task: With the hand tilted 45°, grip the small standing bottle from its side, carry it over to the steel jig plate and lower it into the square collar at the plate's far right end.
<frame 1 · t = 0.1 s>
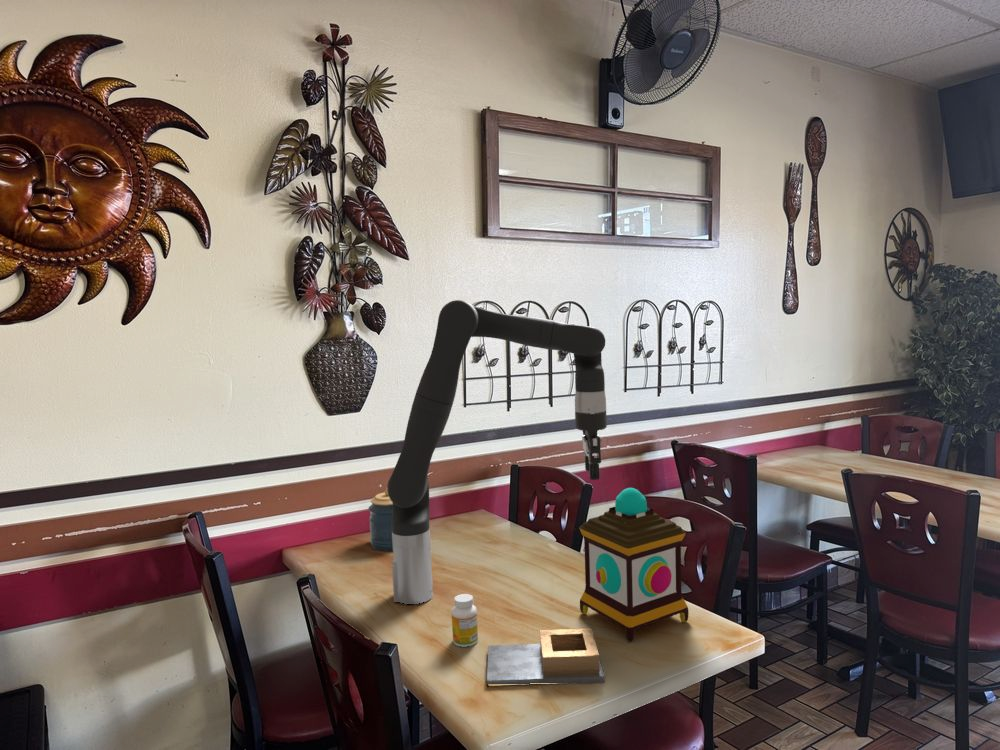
hand: (592, 474, 162), 29 cm above the table, tool pointing down, fingers open, 8 cm apart
decorative lantern: (633, 618, 150), on the table
jig: (543, 666, 131), on the table
canister: (392, 544, 204), on the table
supplement bottle: (465, 642, 142), on the table
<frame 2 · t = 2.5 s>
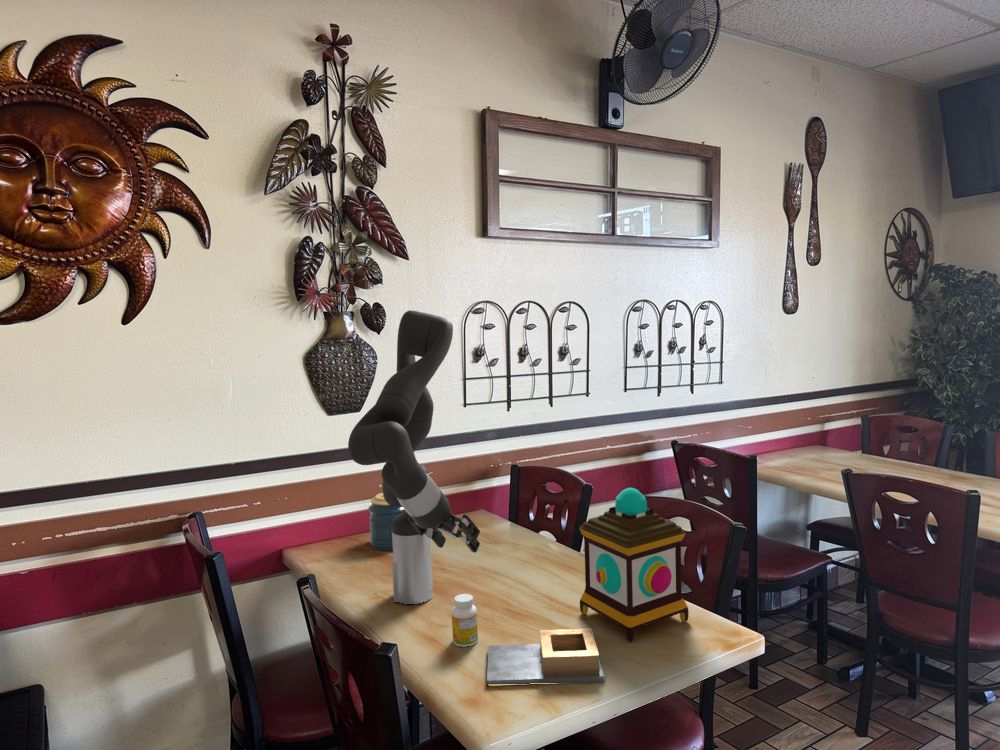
hand: (459, 546, 136), 22 cm above the table, tool tilted 40°, fingers open, 8 cm apart
nothing on the table moved.
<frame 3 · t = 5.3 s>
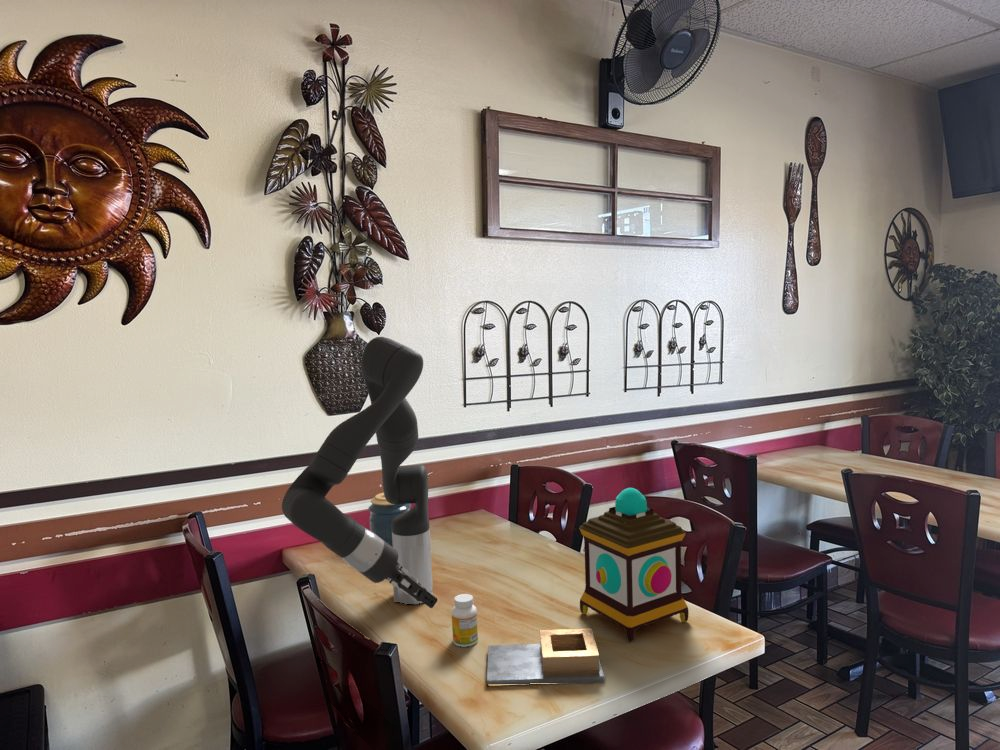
hand: (425, 596, 137), 12 cm above the table, tool tilted 45°, fingers open, 8 cm apart
nothing on the table moved.
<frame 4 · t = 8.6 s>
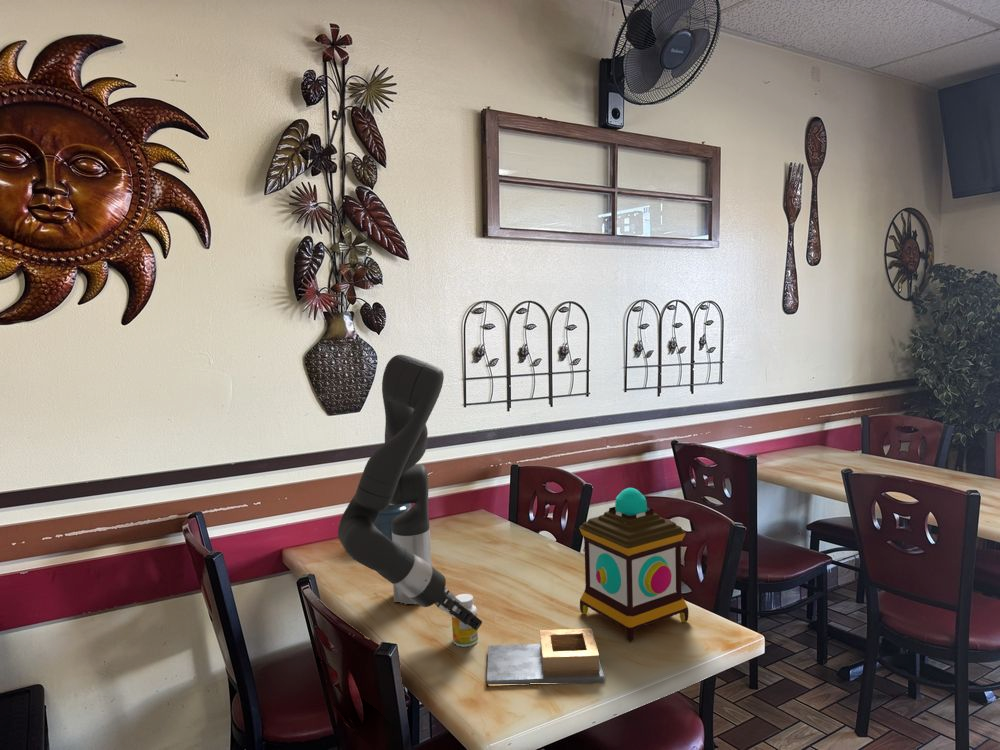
hand: (472, 620, 142), 4 cm above the table, tool tilted 45°, fingers closed on supplement bottle, 5 cm apart
supplement bottle: (465, 642, 142), on the table, touching gripper
everything else where it was.
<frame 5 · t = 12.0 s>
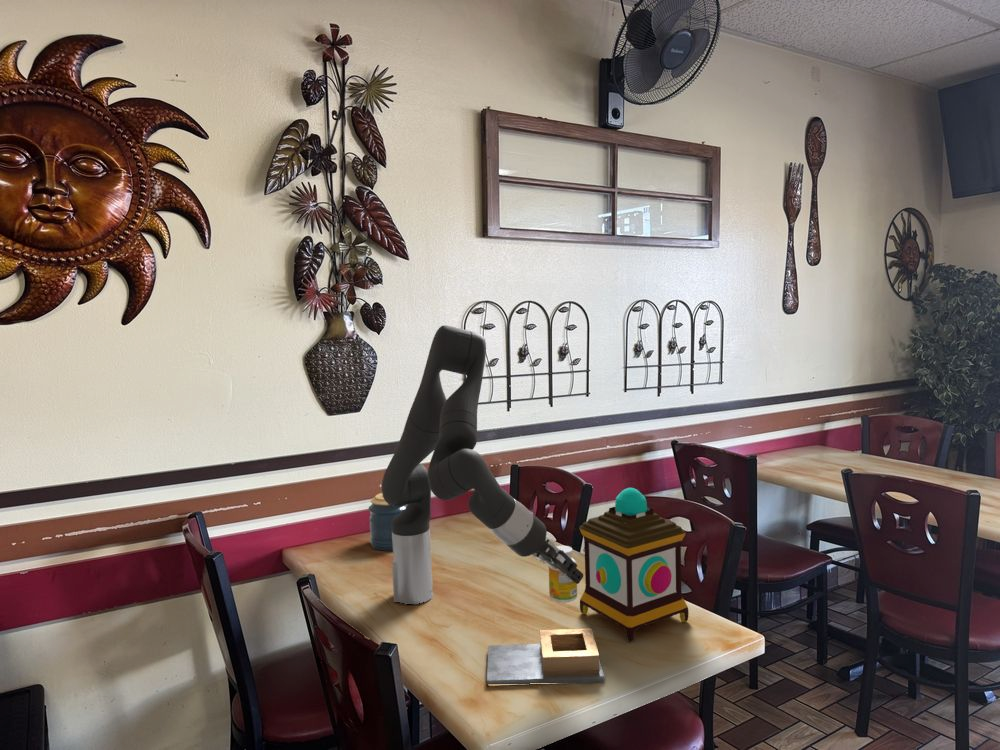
hand: (570, 574, 130), 18 cm above the table, tool tilted 45°, fingers closed on supplement bottle, 5 cm apart
supplement bottle: (563, 598, 129), point 14 cm above the table, touching gripper
everything else where it was.
when the fingers open (7 cm above the table, at t = 15.6 s): supplement bottle drops 2 cm, resting on jig.
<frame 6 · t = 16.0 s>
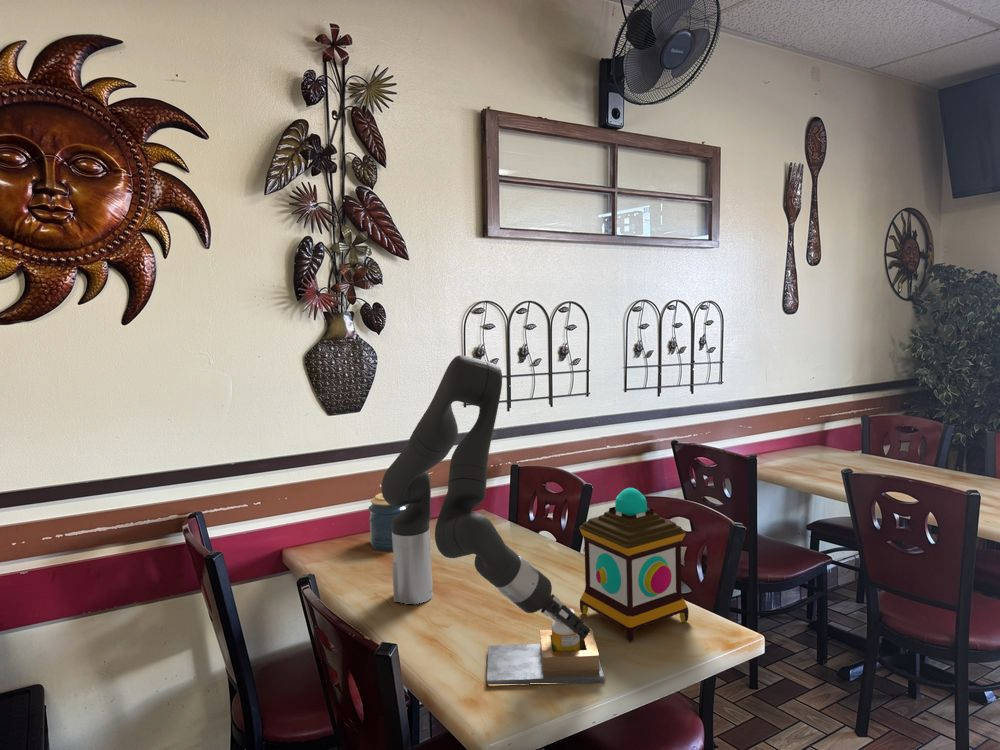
hand: (573, 625, 131), 8 cm above the table, tool tilted 45°, fingers open, 8 cm apart
supplement bottle: (566, 660, 131), point 1 cm above the table, touching jig
everything else where it was.
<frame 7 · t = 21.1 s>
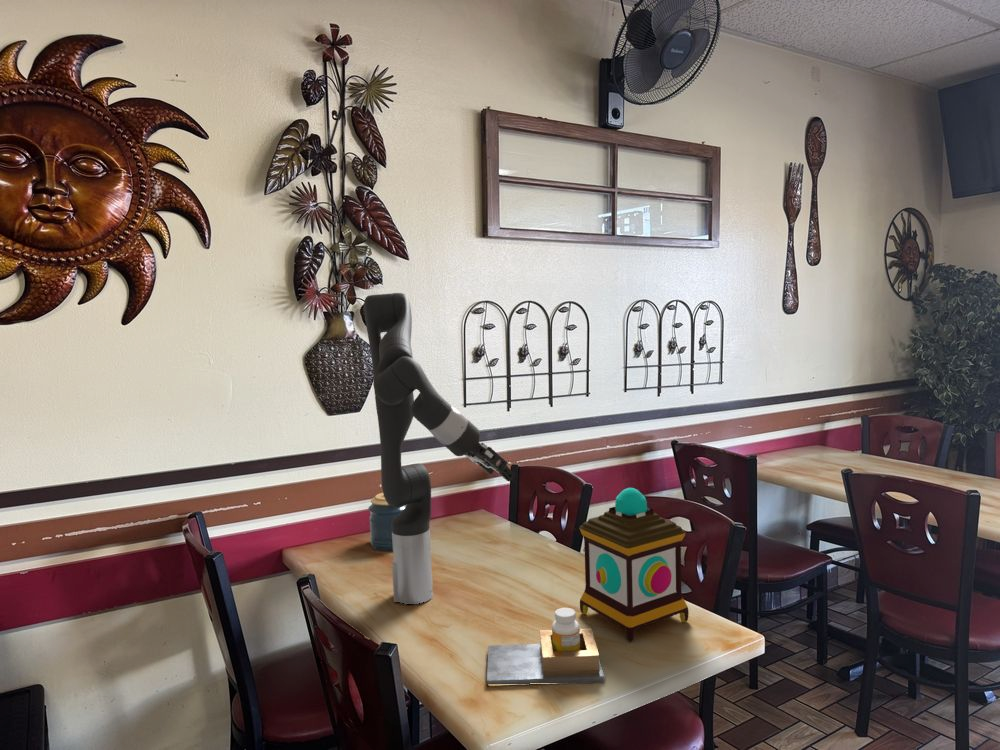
hand: (502, 474, 148), 34 cm above the table, tool tilted 45°, fingers open, 8 cm apart
nothing on the table moved.
at the end: supplement bottle 0.4 cm from the target spot on the jig, point 1.0 cm above the jig's base; supplement bottle tilted 0°; the gripper is holding nothing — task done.
